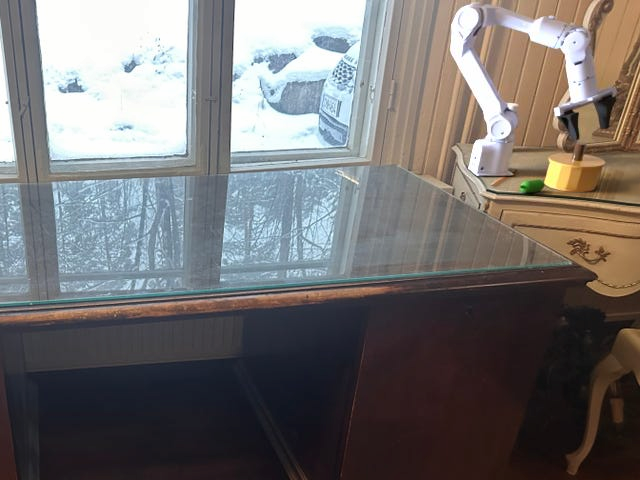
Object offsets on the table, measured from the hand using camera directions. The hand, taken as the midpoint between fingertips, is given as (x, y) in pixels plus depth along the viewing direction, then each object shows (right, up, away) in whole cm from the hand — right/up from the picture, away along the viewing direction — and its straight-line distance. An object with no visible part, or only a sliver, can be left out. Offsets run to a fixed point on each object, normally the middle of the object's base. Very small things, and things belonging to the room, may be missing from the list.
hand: (590, 134), depth 170 cm
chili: (-15, -14, +1) cm, 20 cm away
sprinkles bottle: (-6, +6, +34) cm, 35 cm away
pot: (-2, -11, +5) cm, 13 cm away
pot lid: (-3, -6, +2) cm, 7 cm away
